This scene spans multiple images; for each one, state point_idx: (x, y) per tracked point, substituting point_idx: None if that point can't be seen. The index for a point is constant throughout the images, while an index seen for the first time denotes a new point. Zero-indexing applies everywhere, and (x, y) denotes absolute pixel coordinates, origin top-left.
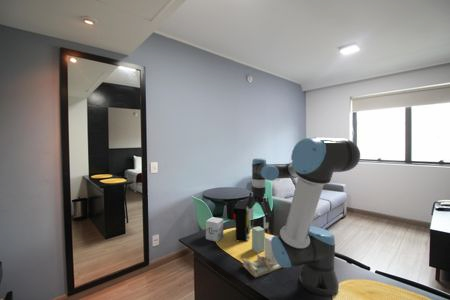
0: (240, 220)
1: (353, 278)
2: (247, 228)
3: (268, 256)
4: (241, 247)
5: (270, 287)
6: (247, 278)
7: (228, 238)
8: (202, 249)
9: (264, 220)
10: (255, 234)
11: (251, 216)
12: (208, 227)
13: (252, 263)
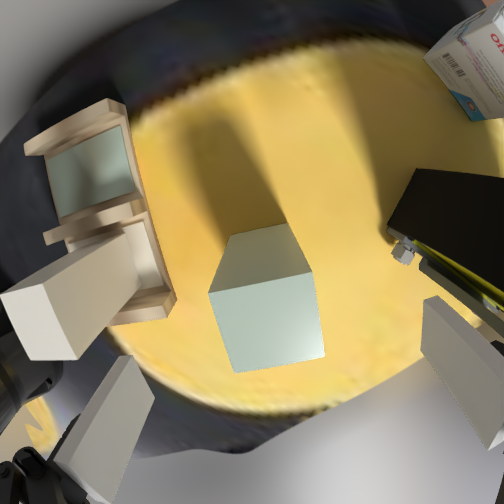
0: (497, 220)
1: (56, 422)
2: (472, 286)
3: (80, 250)
4: (323, 162)
5: (5, 184)
6: (51, 109)
7: (446, 136)
8: None
9: (80, 420)
10: (247, 267)
11: (440, 350)
12: (487, 8)
13: (114, 156)
